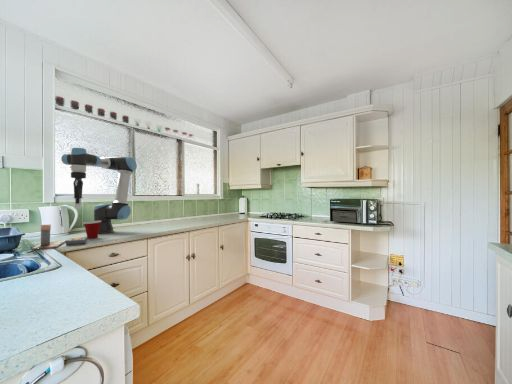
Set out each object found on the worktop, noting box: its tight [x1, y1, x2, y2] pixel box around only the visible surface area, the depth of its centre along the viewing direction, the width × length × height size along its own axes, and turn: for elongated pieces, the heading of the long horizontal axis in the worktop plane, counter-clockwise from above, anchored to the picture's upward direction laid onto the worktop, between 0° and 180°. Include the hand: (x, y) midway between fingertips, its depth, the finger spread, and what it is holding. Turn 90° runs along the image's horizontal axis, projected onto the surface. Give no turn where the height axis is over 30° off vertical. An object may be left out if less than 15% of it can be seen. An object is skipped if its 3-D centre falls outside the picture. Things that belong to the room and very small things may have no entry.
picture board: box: [30, 239, 68, 251], centre depth 135 cm, size 11×20×1 cm, turn 28°
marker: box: [40, 224, 52, 246], centre depth 130 cm, size 4×4×12 cm
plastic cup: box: [82, 220, 101, 240], centre depth 158 cm, size 11×11×12 cm
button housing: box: [65, 236, 89, 246], centre depth 141 cm, size 9×9×3 cm
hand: (77, 208), depth 141 cm, fingers closed
